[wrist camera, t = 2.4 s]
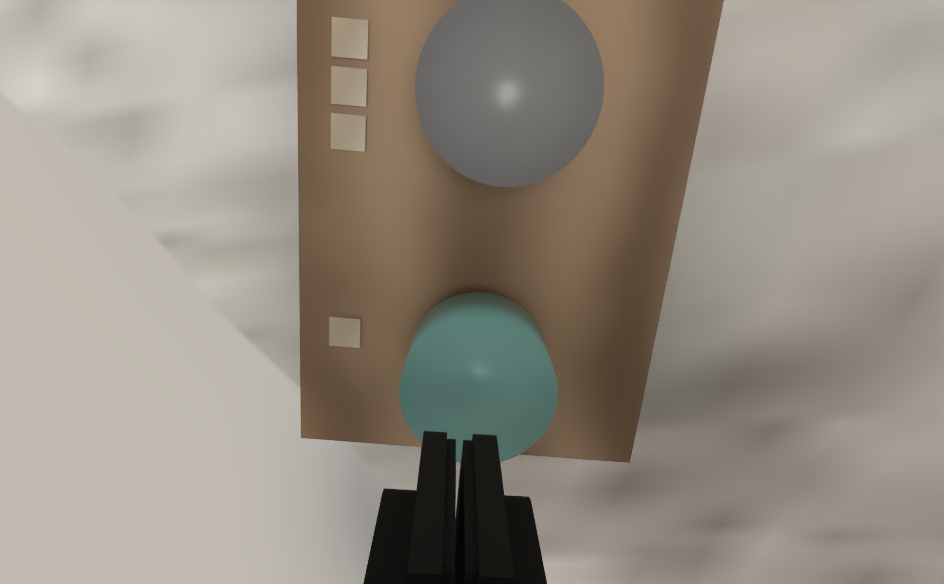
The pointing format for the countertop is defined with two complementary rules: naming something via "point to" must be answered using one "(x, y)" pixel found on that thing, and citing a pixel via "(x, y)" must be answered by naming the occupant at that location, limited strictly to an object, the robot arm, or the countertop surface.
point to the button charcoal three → (509, 89)
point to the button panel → (488, 218)
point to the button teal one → (479, 374)
